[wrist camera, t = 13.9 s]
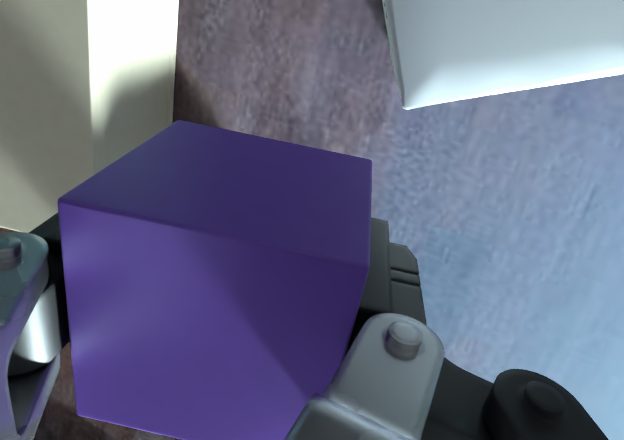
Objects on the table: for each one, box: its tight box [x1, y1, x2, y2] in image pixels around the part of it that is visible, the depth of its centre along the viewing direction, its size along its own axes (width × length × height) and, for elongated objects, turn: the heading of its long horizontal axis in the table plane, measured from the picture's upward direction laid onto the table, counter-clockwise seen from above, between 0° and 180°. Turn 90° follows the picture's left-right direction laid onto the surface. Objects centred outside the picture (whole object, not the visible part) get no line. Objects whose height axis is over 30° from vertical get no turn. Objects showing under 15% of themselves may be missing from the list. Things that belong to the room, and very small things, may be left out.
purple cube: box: [57, 120, 372, 440], centre depth 9 cm, size 4×4×4 cm
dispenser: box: [0, 0, 179, 233], centre depth 23 cm, size 12×13×9 cm
